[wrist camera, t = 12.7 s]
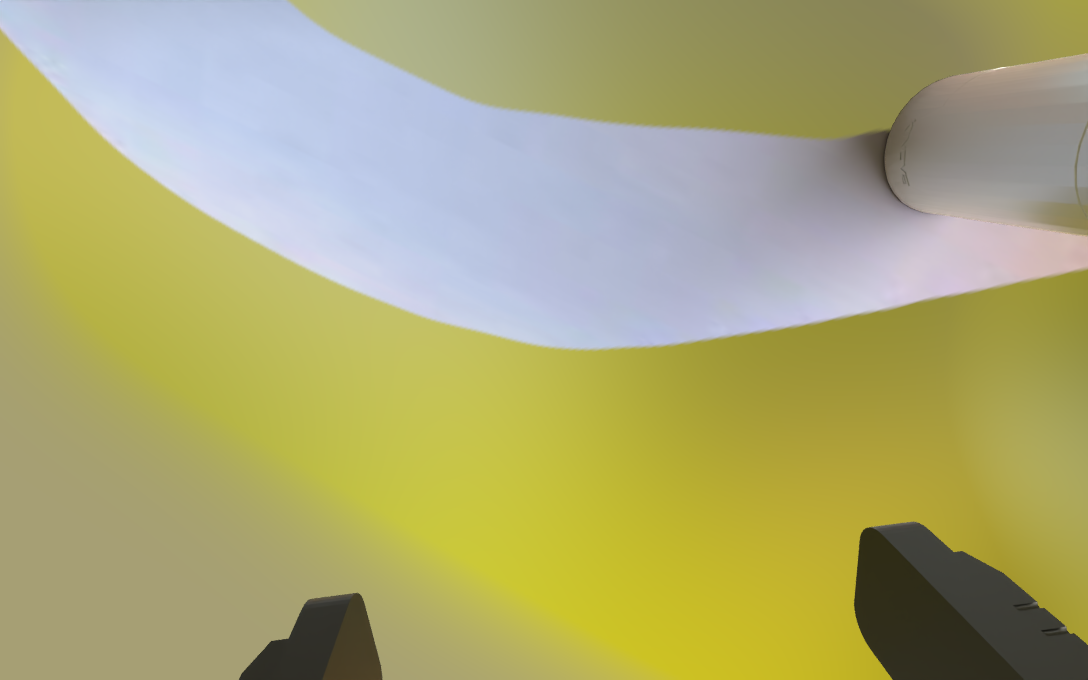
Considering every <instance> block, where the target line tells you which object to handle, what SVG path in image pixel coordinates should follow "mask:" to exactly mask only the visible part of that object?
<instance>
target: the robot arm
mask: <svg viewBox="0 0 1088 680" xmlns="http://www.w3.org/2000/svg"><path fill="white" fill-rule="evenodd" d="M885 171H886V175H887V180H888V182H889V185H890V187H891V189H892V191H893V192H894V194H895V195H896V196H897V197H898V198H899V199H900V201H901V202H903V203H904V204H906V205H907V206H909V207H910V208H912V209H915V210H918V211H920V212H924V213H931V214H938V215H945V216H952V217H958V218H964V219H970V220H977V221H983V222H990V223H997V224H1004V225H1011V226H1017V227H1024V228H1031V229H1038V230H1045V231H1051V232H1058V233H1065V234H1072V235H1079V236H1085V237H1088V54H1082V55H1076V56H1070V57H1064V58H1058V59H1052V60H1046V61H1040V62H1035V63H1028V64H1023V65H1016V66H1010V67H1003V68H997V69H991V70H985V71H979V72H973V73H967V74H962V75H955V76H950V77H947V78H944V79H941V80H938V81H936V82H934V83H932V84H930V85H929V86H927V87H925V88H924V89H922V90H921V91H920V92H919V93H917V94H916V95H915V96H914V97H913V98H911V100H910V101H909V102H908V103H907V104H906V106H905V107H904V108H903V109H902V110H901V112H900V113H899V115H898V117H897V118H896V120H895V122H894V124H893V125H892V128H891V131H890V133H889V136H888V139H887V144H886V149H885ZM854 607H855V614H856V618H857V622H858V625H859V628H860V631H861V633H862V635H863V637H864V639H865V641H866V643H867V644H868V646H869V647H870V649H871V650H872V652H873V653H874V655H875V656H876V657H877V658H878V660H879V661H880V662H881V664H882V665H883V667H884V668H885V670H886V671H887V672H888V674H889V675H890V676H891V678H892V679H893V680H1088V645H1087V644H1086V643H1085V642H1084V641H1082V640H1081V639H1080V638H1079V637H1078V636H1076V635H1075V634H1074V633H1073V634H1070V633H1069V632H1068V631H1067V629H1066V626H1065V625H1064V624H1062V623H1061V622H1060V621H1059V620H1058V619H1057V618H1055V617H1054V616H1053V615H1052V614H1050V612H1048V611H1047V610H1046V609H1045V608H1039V606H1038V604H1037V601H1035V600H1034V599H1033V598H1032V597H1031V596H1029V595H1028V594H1027V593H1026V592H1025V591H1024V590H1022V589H1021V588H1020V587H1019V586H1018V585H1017V584H1015V583H1014V582H1013V581H1012V580H1011V579H1010V578H1008V577H1007V576H1006V575H1005V574H1004V573H1002V572H1000V571H998V570H996V569H994V568H993V567H991V566H989V565H987V564H985V563H983V562H981V561H980V560H978V559H976V558H974V557H972V556H970V555H968V554H967V553H965V552H963V551H960V552H953V551H952V550H951V549H950V548H948V547H947V546H946V545H945V544H944V543H943V542H942V541H941V540H939V539H938V538H937V537H936V536H935V535H934V534H933V533H932V532H931V531H930V530H928V529H927V528H926V527H925V526H923V525H921V524H920V523H917V522H907V523H900V524H892V525H885V526H877V527H869V528H866V529H864V530H863V532H862V533H861V536H860V544H859V556H858V567H857V577H856V589H855V599H854ZM239 680H382V671H381V665H380V661H379V657H378V653H377V649H376V646H375V642H374V638H373V634H372V630H371V627H370V623H369V619H368V615H367V611H366V608H365V604H364V601H363V598H362V596H361V595H360V594H359V593H353V594H345V595H338V596H331V597H323V598H315V599H310V600H308V601H307V602H306V603H305V604H304V607H303V608H302V610H301V612H300V614H299V617H298V619H297V621H296V624H295V626H294V628H293V630H292V632H291V635H290V637H289V639H283V640H276V641H271V642H270V643H269V644H268V645H267V646H266V648H265V649H264V650H263V651H262V652H261V653H260V654H259V655H258V656H257V658H256V659H255V660H254V661H253V662H252V663H251V664H250V665H249V666H248V667H247V668H246V670H245V671H244V672H243V673H242V674H241V677H240V678H239Z"/></svg>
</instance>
